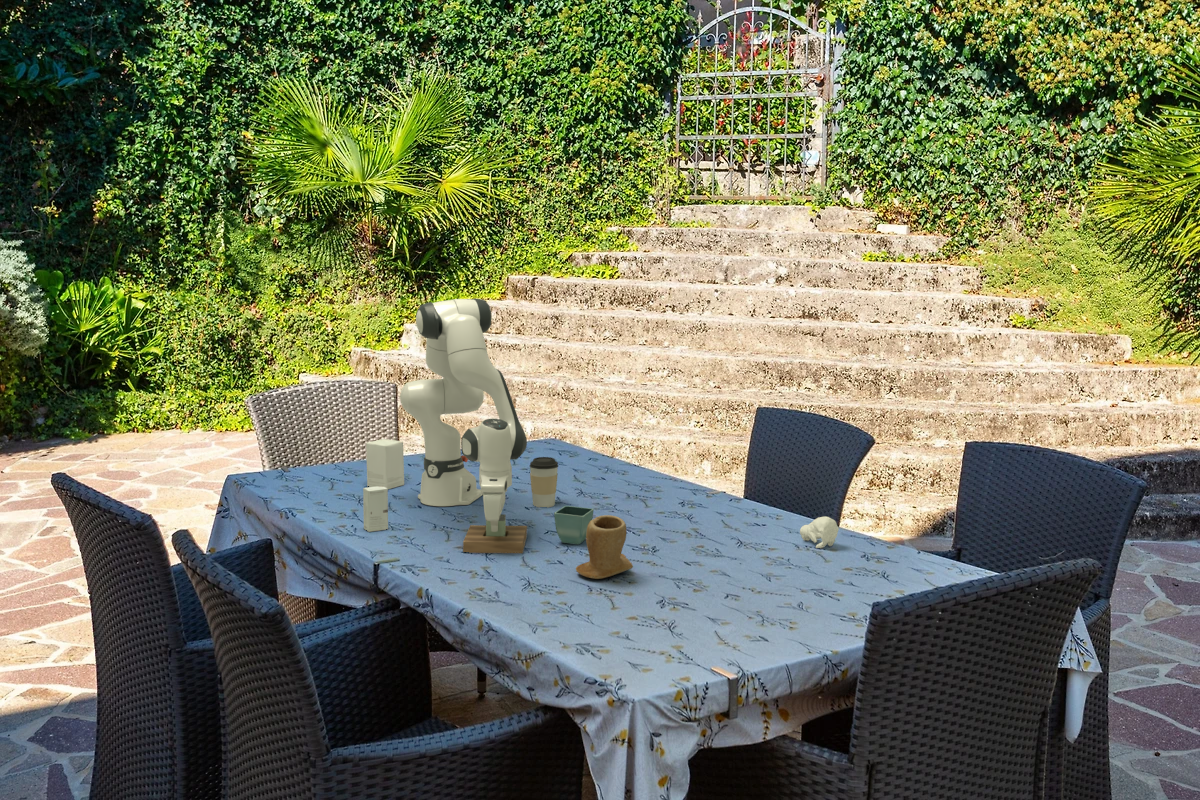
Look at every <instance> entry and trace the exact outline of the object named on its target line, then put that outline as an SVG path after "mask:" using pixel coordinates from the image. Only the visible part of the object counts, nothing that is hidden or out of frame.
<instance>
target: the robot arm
mask: <svg viewBox="0 0 1200 800" xmlns="http://www.w3.org/2000/svg"><path fill="white" fill-rule="evenodd" d="M492 317H493V315H492V311H491V307H490V304H489V303H488V301H486V300H485V299H481V298H472V299H469V298H455V299H448V300H439V301H436V302H432V301H430V302H425V303H423V304H421V305H419V307H418V308H417V310H416V316H415V325H416V328H417V330H418V333H419V335H421V337H423V338H425V340H426V342H425V346H426V347H425V364H426V366H427V368H428V369H429V370H430V371H431V372H432V373H434V374H436V375H438V376H441V377H442V378H438V379H437V378H436V379H435V378H432V379H431V378H430V379H427V378H425V379H418V380H413V381H408V382H406V383H405V384H404V385H403V387H402V389H401V391H400V395H399V400H400V404H401V406H402V408H403V410H405V412H407V414H409V415H410V416H411V417H413V418H414V419H415V420H416V422H417V423H418V425H420V428H421V430H422V433H423V440H424V452H425V453H424V455H425V457H423V468H424V471H423V472H422V473H421V480H420V481H421V484H420V493H418V495H417V499H419V501H420V503H422V504H423V505H426V506H431V507H453V506H468V505H471V504H472V503H473V502H474V501H476V500H478V499H479V498H481V496H482V499H483V501H482V502H483V511H484V518H485V521H486V520H487V521H490V522H491V531H492V532H497V531H498V520H499V518H500V515H501V514H502V511H503V509H504V506H505V504H506V493H507V491H508V489H509V487H511V486H512V484H513V480H512V479H513V468H512V463H511V460H518V459H519V458H520V457H521V456H522V455H523V454H524V452H525V451H526V449H527V446H528V440H527V436H526V433H525V430H524V428H523V426H522V424H521V422H520V419H519V417H518V413H517V411H516V408H515V404H514V402H513V400H512V396H511V394H510V390H509V387H508V384H507V382H506V379H505V377H504V375H503V373H502V372H501V370H500V369H497V368H496V367H495V366H494V364H493V363H492V362H491V359H490V357H489V354H488V349H487V344H486V341H485V336H484V333H487V332H488V331H489V330H490V329H491V327H492V326H491V325H492V320H493V318H492ZM485 393H487V395H489V396H490V398H491V399H492V401H493V404H494V406H495V409H496V413H497V416H498V418H486V419H484V420H483V421H482V422H480V424H479V425H477V426H474V427H471V428H468V429H466V431H464V433H463V435H462V437H461V434H460V432H459V430H458V429H457V428H456V427H454V426H452V425H451V424H448V423H445V422H444V421H442V419H441V416H442V415H445V414H446V415H452V414H453V415H454V414H455V415H456V414H458V415H459V414H466V413H472V412H475V411H479V409H480V408H481V406H482V404H483V403H484V397H485ZM461 452H462V455H461ZM468 461H470V462H476V463H478V462H479V468H478V472H479V473H478V474H479V475H478V478H479V483H478V484H479V487H480V488H477V479H476V476H475V475H474V474H472V473H471V472H470V471H469V470H468V469H467V468H465V464H464V462H465V463H467V462H468Z"/></svg>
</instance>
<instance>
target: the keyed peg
mask: <svg viewBox="0 0 1200 800" xmlns="http://www.w3.org/2000/svg"><path fill="white" fill-rule="evenodd" d="M506 518H507V517H506V514H505V513H503V514H502V513H501V515H500V518H499V520H498V531H497V532H492V531H491V522H490V521H487V520H486V519H485V525H486V536H506V526H507V525H506V521H507V520H506Z"/></svg>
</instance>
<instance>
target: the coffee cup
mask: <svg viewBox="0 0 1200 800" xmlns="http://www.w3.org/2000/svg"><path fill="white" fill-rule="evenodd" d="M529 464H530V465H529V467H530V468H529V470H530V471H529V476H530V477H529V478H530V489H531V495H532V506H533V505H534V506H533V507H535V506H536V507H535V508H540V507H547V508H552V507H554V506H555V504H556V492H557V485H558V469H559V464H558V461H557V460H556V459H555V458H553V457H551V456H549V457H548V456H539V457H535V458H533V459H532V461H530V463H529Z"/></svg>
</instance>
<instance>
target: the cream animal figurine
mask: <svg viewBox="0 0 1200 800" xmlns="http://www.w3.org/2000/svg"><path fill="white" fill-rule="evenodd" d="M839 530H840V529H839V527H838V524H837V521H836V520H835V519H833V518H831V517H829V516H821V517H820V516H819V517H817V518H815V519H813V520H812V522H811V521H810V523H809V524H803V525H802V526H801V527H800V529H799V534H800V537H801V538H802V541H807V542H808V541H810V540H811V542H813V543H814V544H815V543H817V542H818V539H821V542H819V543H817V544H816V546H815V548H816V549H817V548H820V549H824V548H825V547H826V546H828V547H832V546H833V545H834V543H835V541H836V539H837V537H838V533H839Z"/></svg>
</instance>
